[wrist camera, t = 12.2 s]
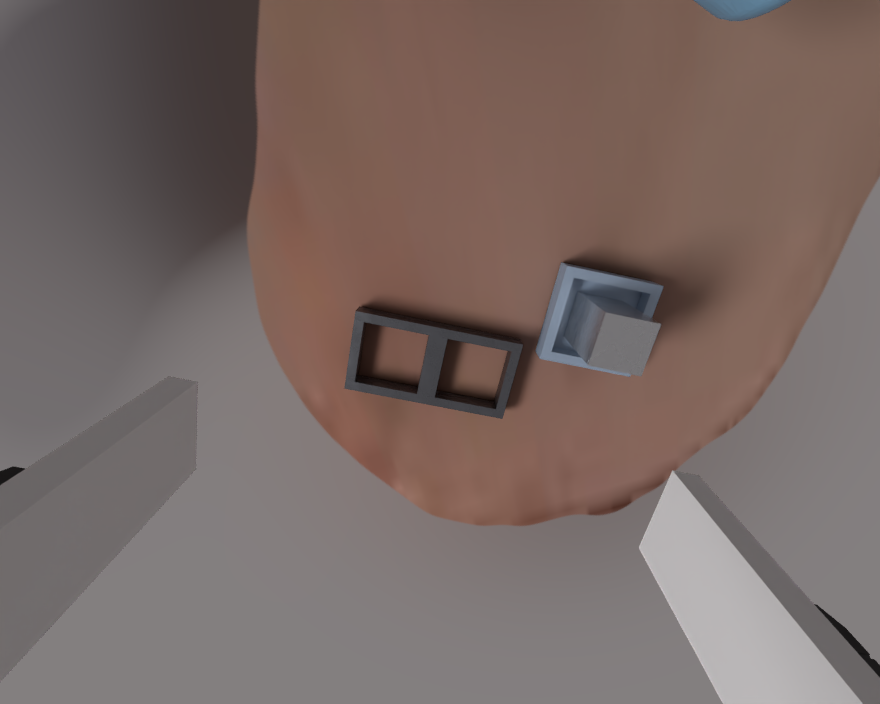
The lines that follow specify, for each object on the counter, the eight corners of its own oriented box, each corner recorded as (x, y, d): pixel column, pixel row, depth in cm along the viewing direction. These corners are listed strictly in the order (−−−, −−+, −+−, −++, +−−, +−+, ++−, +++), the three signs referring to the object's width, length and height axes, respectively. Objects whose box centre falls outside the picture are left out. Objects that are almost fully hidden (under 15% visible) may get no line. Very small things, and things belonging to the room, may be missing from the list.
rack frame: (359, 306, 49) (355, 311, 47) (520, 339, 49) (523, 344, 48) (348, 381, 51) (344, 388, 50) (500, 410, 52) (502, 418, 51)
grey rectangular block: (577, 291, 47) (605, 312, 38) (622, 300, 47) (661, 324, 39) (563, 335, 49) (587, 365, 40) (607, 344, 49) (641, 376, 40)
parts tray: (561, 262, 47) (567, 265, 44) (653, 281, 47) (663, 286, 45) (535, 351, 50) (539, 358, 48) (621, 368, 50) (629, 376, 48)
